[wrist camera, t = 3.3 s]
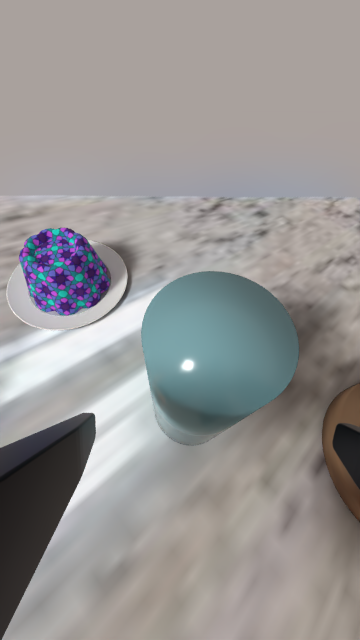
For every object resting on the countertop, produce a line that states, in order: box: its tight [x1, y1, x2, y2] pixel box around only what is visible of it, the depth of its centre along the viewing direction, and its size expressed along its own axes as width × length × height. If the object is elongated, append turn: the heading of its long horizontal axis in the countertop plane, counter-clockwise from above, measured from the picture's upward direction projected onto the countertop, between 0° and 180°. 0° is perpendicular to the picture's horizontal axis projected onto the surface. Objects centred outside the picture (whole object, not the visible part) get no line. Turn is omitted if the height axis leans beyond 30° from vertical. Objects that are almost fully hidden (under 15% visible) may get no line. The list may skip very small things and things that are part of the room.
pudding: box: [6, 228, 128, 330], centre depth 25 cm, size 12×12×5 cm
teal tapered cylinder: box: [141, 271, 299, 445], centre depth 15 cm, size 6×6×13 cm
